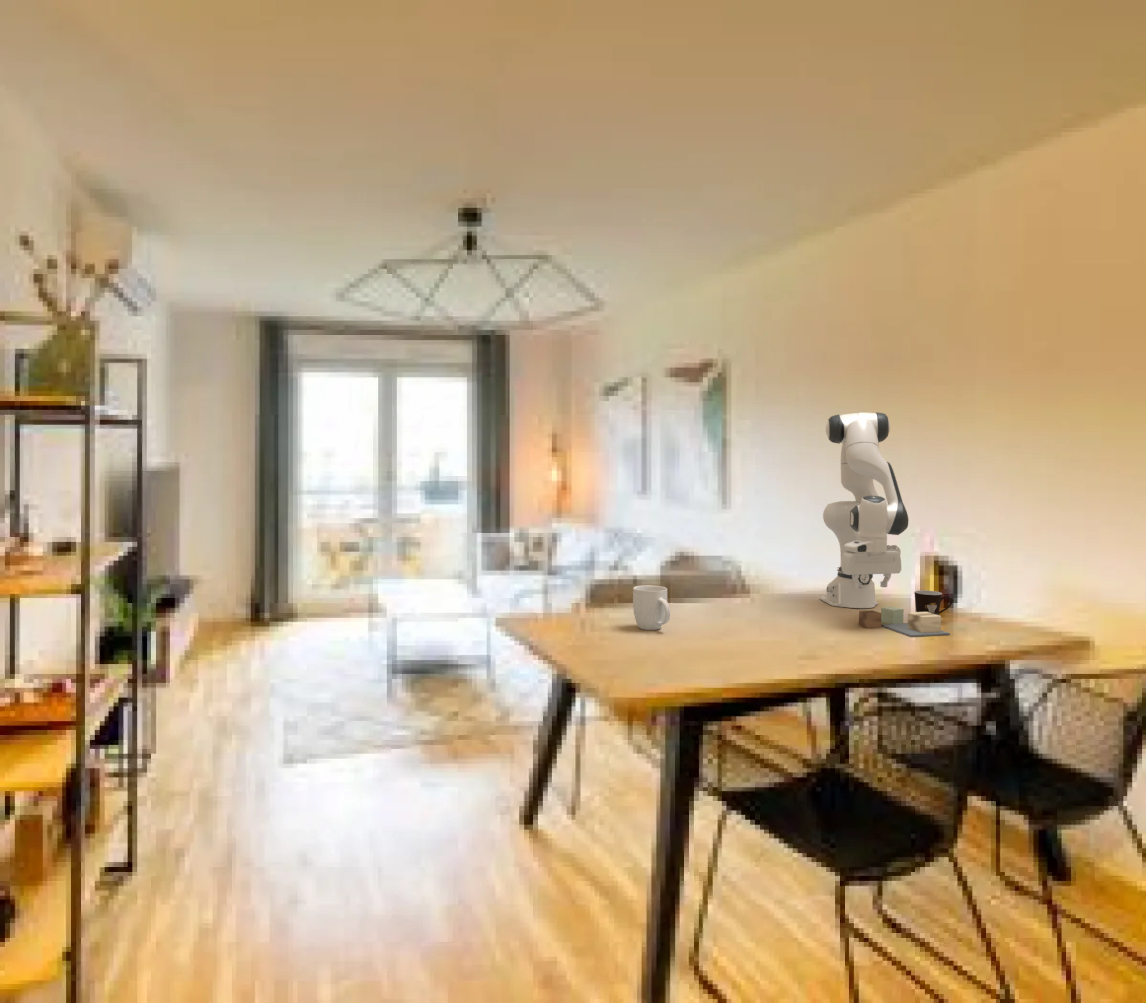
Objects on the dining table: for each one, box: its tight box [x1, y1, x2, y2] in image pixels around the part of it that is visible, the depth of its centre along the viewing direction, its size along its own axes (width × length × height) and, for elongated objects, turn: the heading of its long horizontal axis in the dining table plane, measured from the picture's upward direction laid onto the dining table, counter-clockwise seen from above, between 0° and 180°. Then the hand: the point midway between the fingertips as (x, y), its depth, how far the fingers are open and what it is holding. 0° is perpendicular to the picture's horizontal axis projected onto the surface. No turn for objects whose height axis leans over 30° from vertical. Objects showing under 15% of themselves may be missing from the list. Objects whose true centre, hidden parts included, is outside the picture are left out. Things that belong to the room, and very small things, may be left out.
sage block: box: [880, 606, 905, 624], centre depth 277 cm, size 5×5×5 cm
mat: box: [881, 622, 951, 638], centre depth 266 cm, size 16×14×1 cm
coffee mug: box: [914, 589, 953, 616], centre depth 279 cm, size 12×9×10 cm
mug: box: [632, 584, 671, 631], centre depth 264 cm, size 15×11×13 cm
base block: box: [907, 611, 942, 633], centre depth 264 cm, size 7×7×5 cm
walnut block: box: [858, 609, 882, 630], centre depth 271 cm, size 5×5×5 cm
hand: (871, 587), depth 270 cm, fingers open, 8 cm apart
